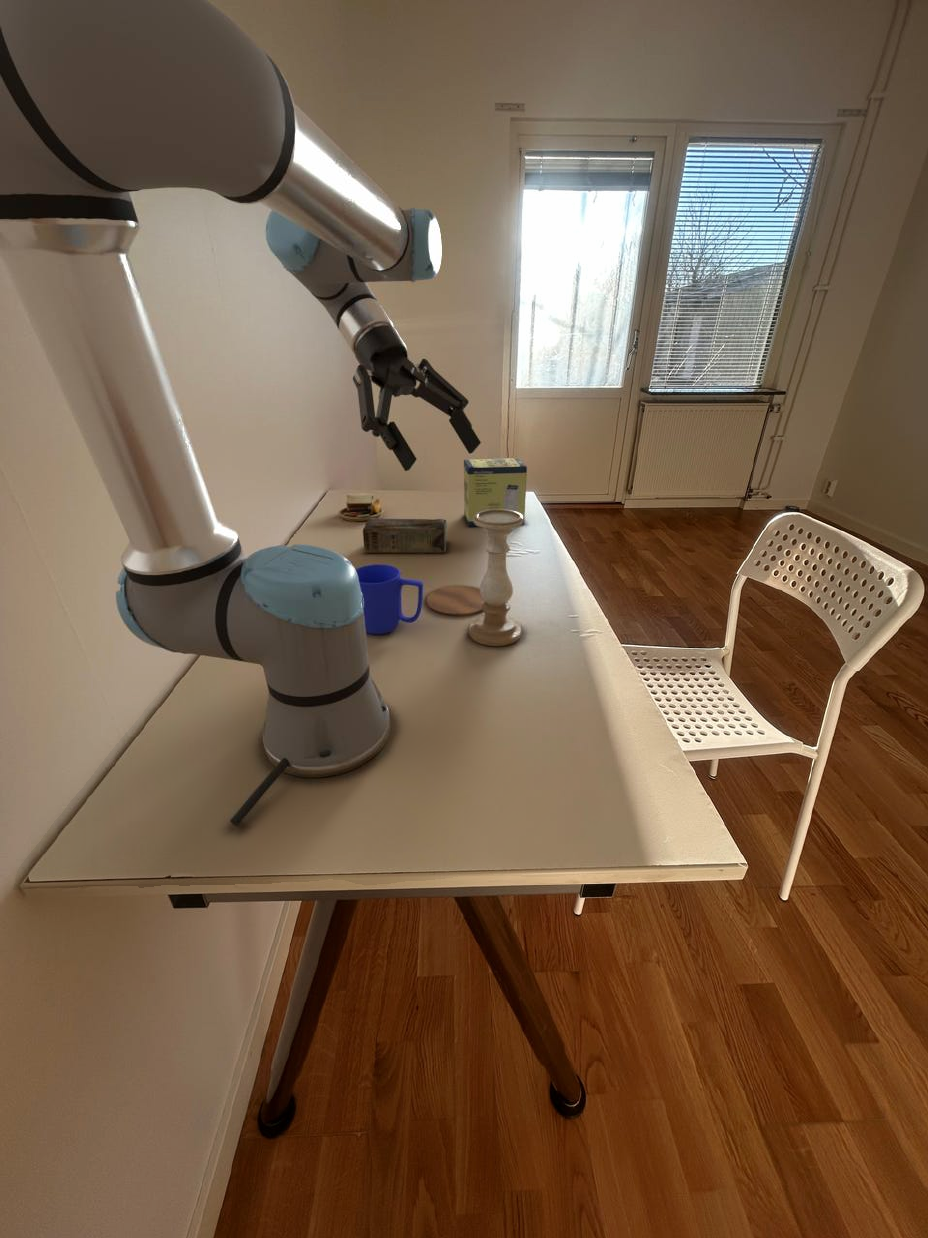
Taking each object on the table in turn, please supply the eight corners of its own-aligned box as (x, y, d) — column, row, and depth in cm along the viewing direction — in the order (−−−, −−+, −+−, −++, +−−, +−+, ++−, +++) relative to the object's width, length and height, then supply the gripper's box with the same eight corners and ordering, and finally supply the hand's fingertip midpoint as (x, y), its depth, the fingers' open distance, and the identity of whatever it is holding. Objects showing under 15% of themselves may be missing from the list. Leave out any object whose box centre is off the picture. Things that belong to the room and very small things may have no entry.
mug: (418, 643, 84) (415, 587, 79) (348, 636, 86) (341, 581, 81) (431, 620, 91) (429, 567, 86) (366, 613, 93) (360, 562, 88)
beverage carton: (446, 554, 119) (445, 526, 116) (363, 554, 119) (360, 527, 116) (447, 542, 126) (446, 515, 123) (368, 542, 126) (366, 516, 123)
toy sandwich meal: (333, 522, 140) (331, 505, 138) (345, 508, 152) (343, 492, 150) (379, 522, 140) (377, 505, 138) (387, 508, 152) (386, 492, 149)
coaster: (468, 621, 90) (468, 619, 90) (413, 605, 96) (413, 603, 96) (501, 596, 99) (501, 594, 99) (450, 582, 105) (450, 581, 104)
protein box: (463, 515, 145) (463, 458, 138) (517, 513, 146) (520, 457, 139) (467, 527, 136) (467, 467, 128) (525, 525, 137) (528, 465, 130)
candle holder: (466, 622, 90) (466, 508, 80) (515, 619, 91) (521, 506, 81) (472, 648, 82) (472, 525, 72) (526, 645, 83) (533, 523, 73)
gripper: (423, 354, 90) (486, 455, 89) (296, 366, 75) (370, 488, 74) (443, 319, 84) (511, 427, 83) (310, 324, 69) (390, 457, 68)
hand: (444, 456), depth 78 cm, fingers open, 13 cm apart
